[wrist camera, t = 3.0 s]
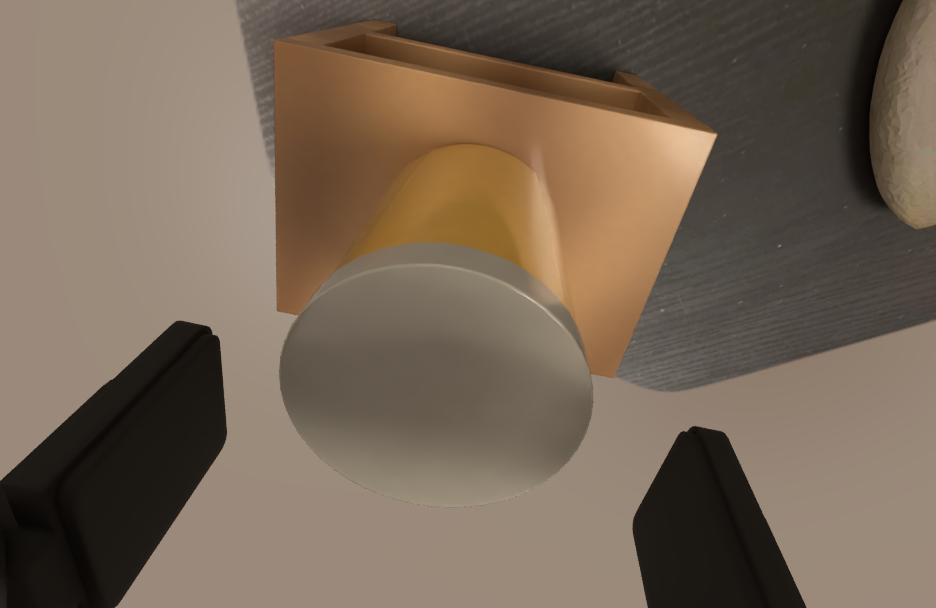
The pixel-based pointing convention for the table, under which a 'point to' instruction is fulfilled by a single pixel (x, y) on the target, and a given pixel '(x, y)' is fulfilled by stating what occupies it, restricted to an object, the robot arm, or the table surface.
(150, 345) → the robot arm
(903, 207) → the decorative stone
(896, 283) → the table surface
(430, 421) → the jar
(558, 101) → the shelf
